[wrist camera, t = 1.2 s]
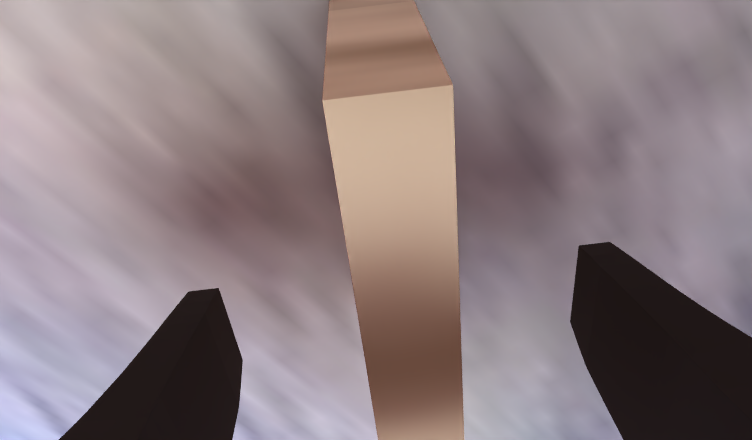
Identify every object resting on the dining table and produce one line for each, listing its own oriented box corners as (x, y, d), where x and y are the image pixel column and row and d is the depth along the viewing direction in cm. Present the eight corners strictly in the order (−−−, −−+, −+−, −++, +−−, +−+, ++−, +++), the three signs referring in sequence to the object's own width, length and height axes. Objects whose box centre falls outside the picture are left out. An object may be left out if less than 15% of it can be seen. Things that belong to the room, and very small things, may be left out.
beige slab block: (329, -10, 14) (322, 100, 8) (404, -19, 14) (452, 84, 8) (374, 303, 19) (388, 505, 13) (427, 297, 19) (465, 496, 13)
